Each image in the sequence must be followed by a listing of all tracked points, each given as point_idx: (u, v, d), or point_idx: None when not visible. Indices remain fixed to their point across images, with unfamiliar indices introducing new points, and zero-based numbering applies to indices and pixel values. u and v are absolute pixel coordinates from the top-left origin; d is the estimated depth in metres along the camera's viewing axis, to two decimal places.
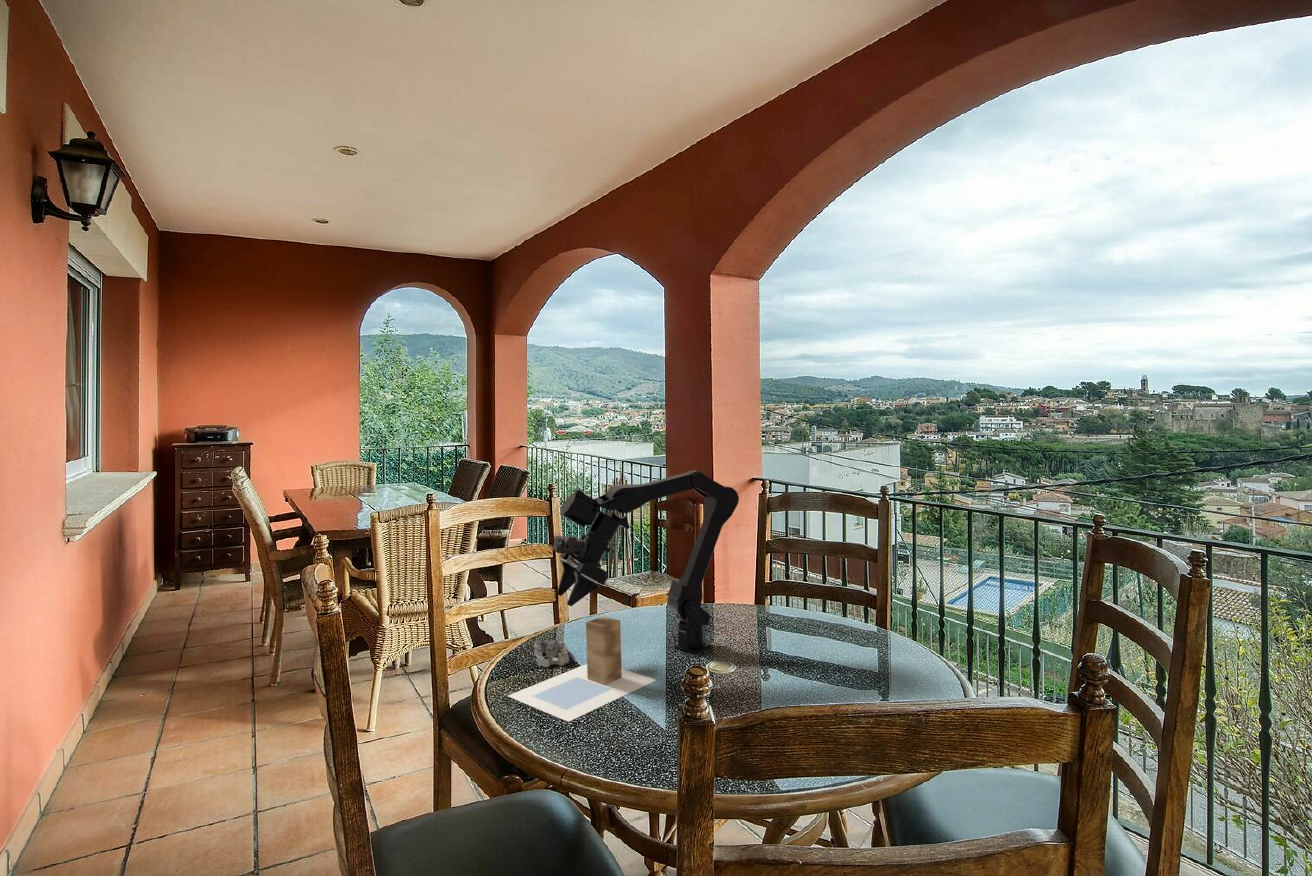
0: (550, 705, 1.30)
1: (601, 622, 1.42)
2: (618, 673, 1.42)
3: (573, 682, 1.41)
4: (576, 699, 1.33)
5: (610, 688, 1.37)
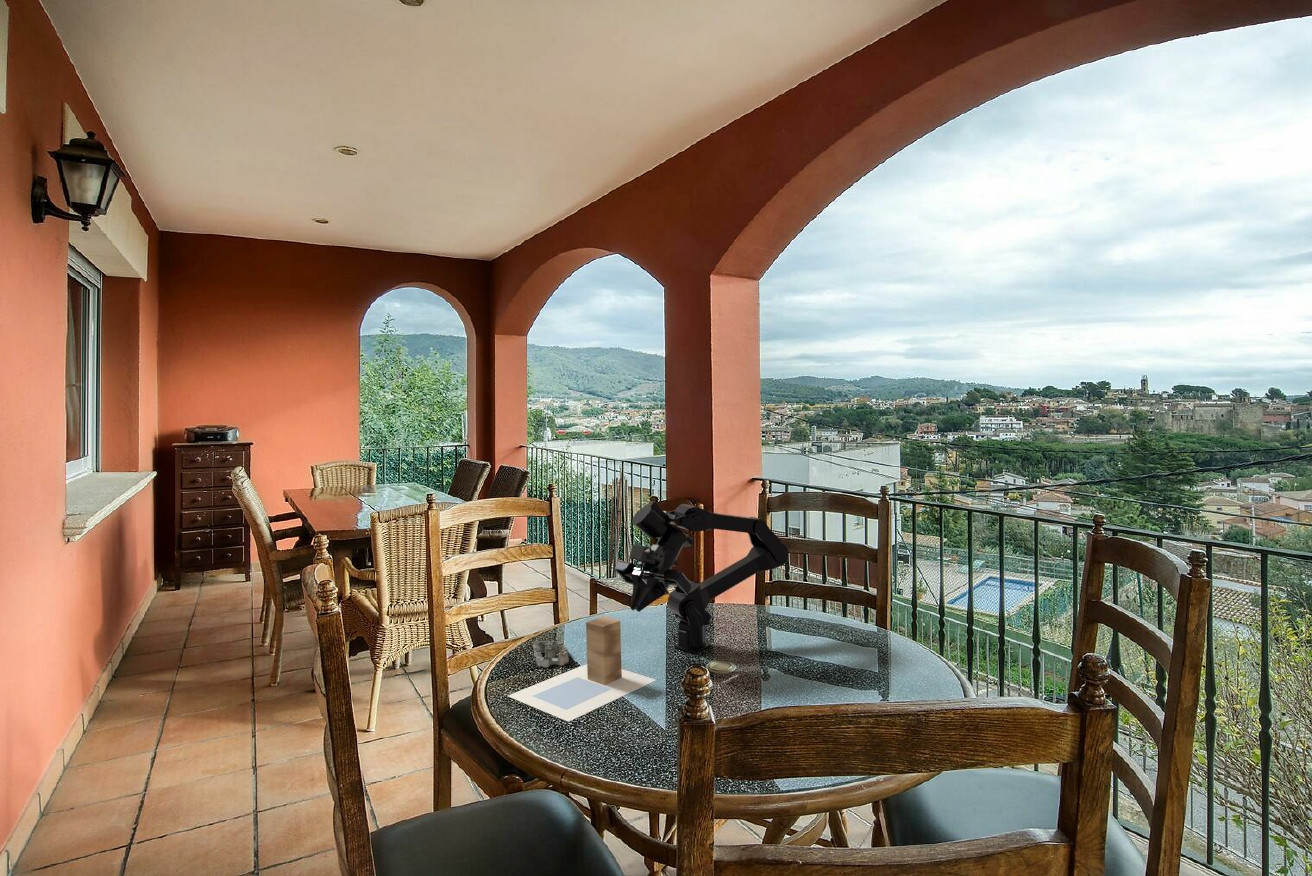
0: (550, 705, 1.30)
1: (601, 622, 1.42)
2: (618, 673, 1.42)
3: (573, 682, 1.41)
4: (576, 699, 1.33)
5: (610, 688, 1.37)
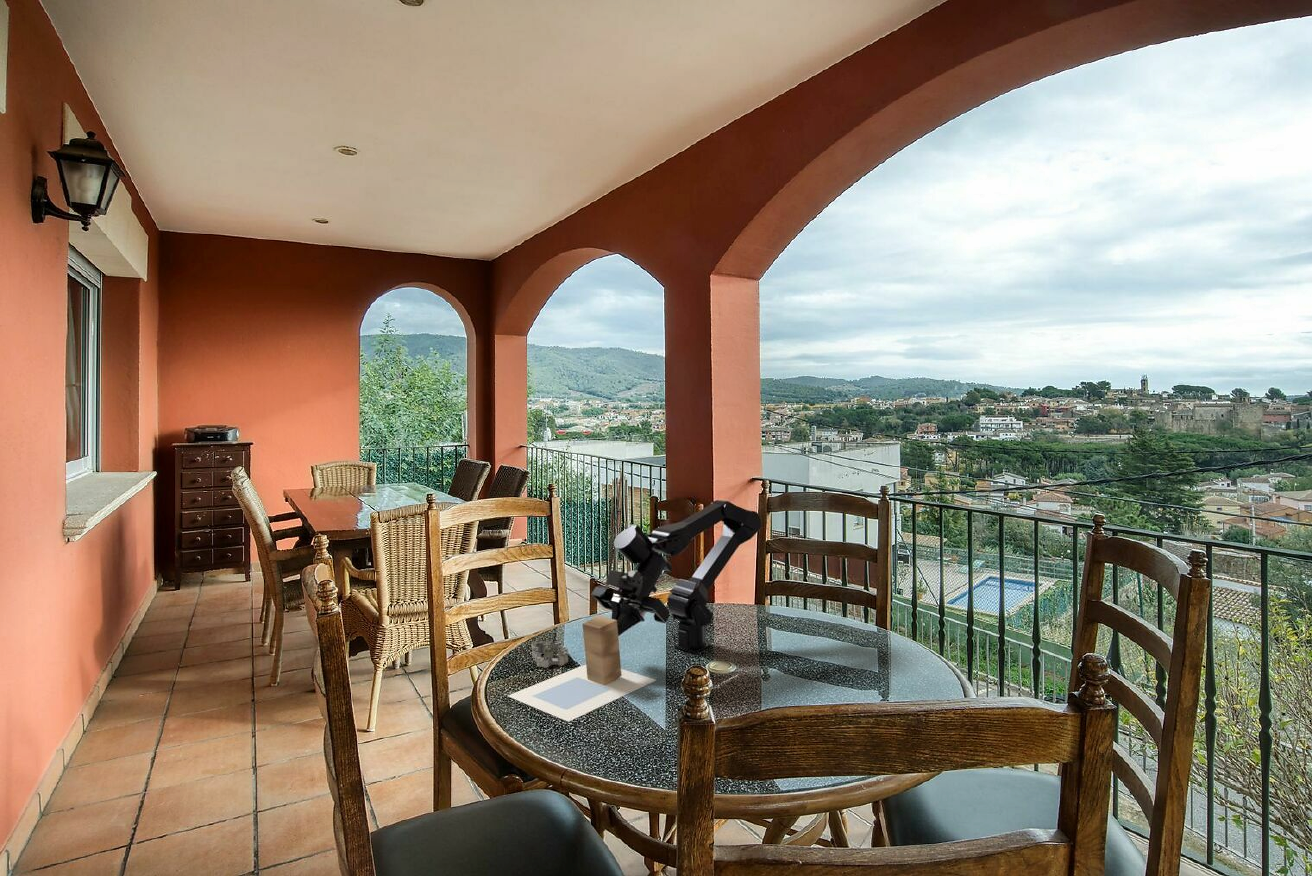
0: (550, 705, 1.30)
1: (597, 622, 1.41)
2: (618, 672, 1.42)
3: (573, 682, 1.41)
4: (576, 699, 1.33)
5: (610, 688, 1.37)
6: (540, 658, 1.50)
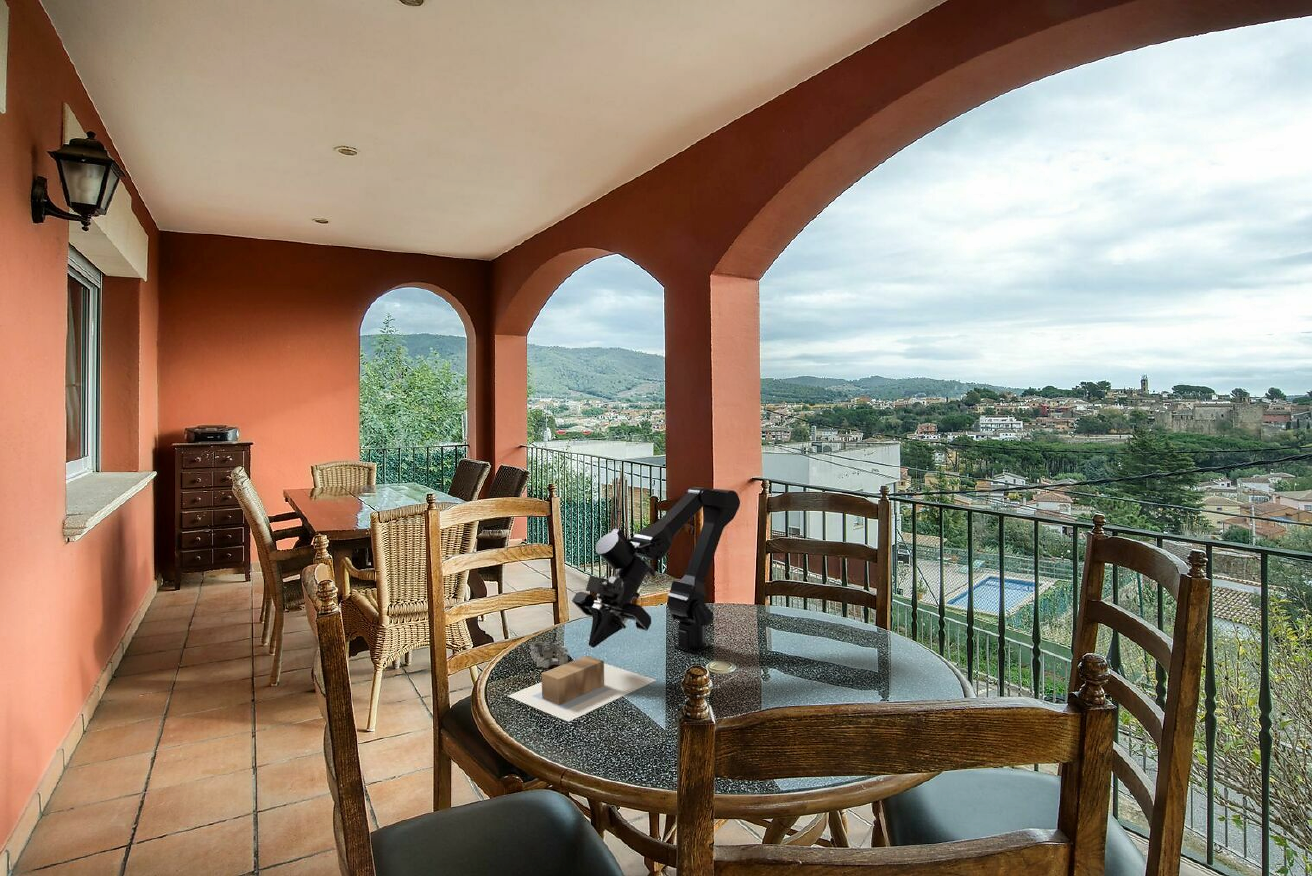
0: (550, 705, 1.30)
1: (550, 692, 1.31)
2: (599, 667, 1.38)
3: None
4: (576, 699, 1.33)
5: (610, 688, 1.37)
6: (540, 658, 1.49)
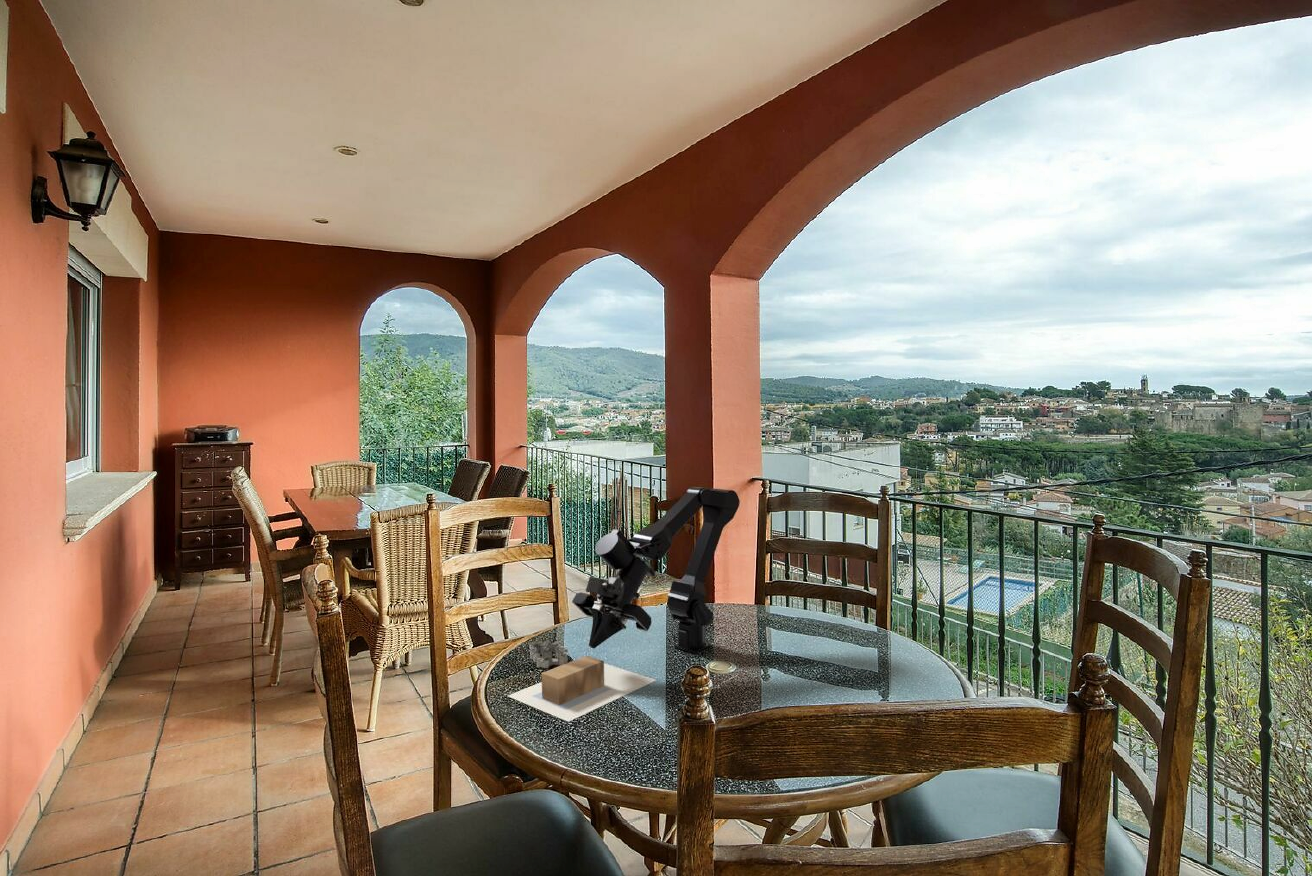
0: (550, 705, 1.30)
1: (550, 692, 1.31)
2: (599, 667, 1.38)
3: None
4: (576, 699, 1.33)
5: (610, 688, 1.37)
6: (540, 659, 1.49)
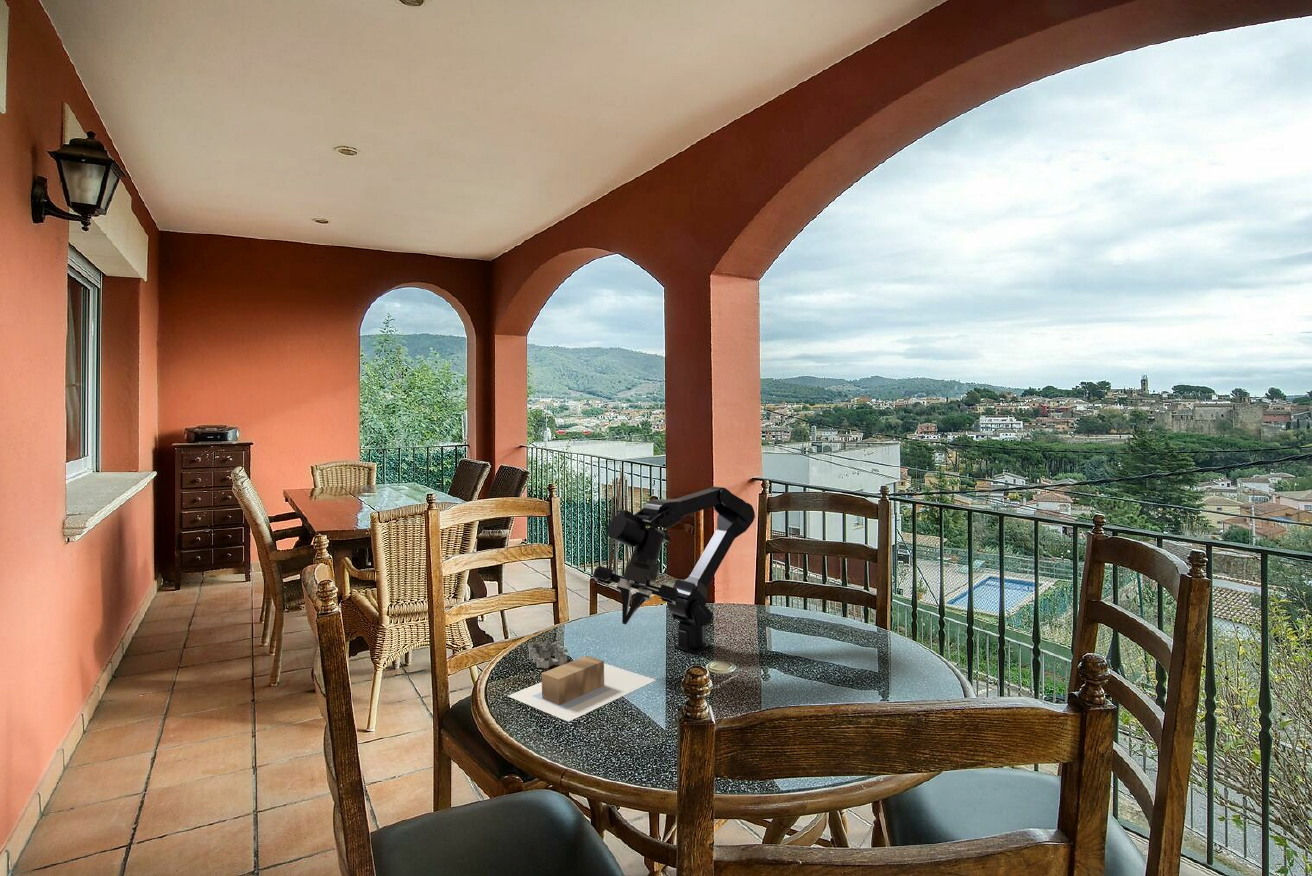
0: (550, 705, 1.30)
1: (550, 692, 1.31)
2: (599, 667, 1.38)
3: None
4: (576, 699, 1.33)
5: (610, 688, 1.37)
6: (540, 659, 1.49)
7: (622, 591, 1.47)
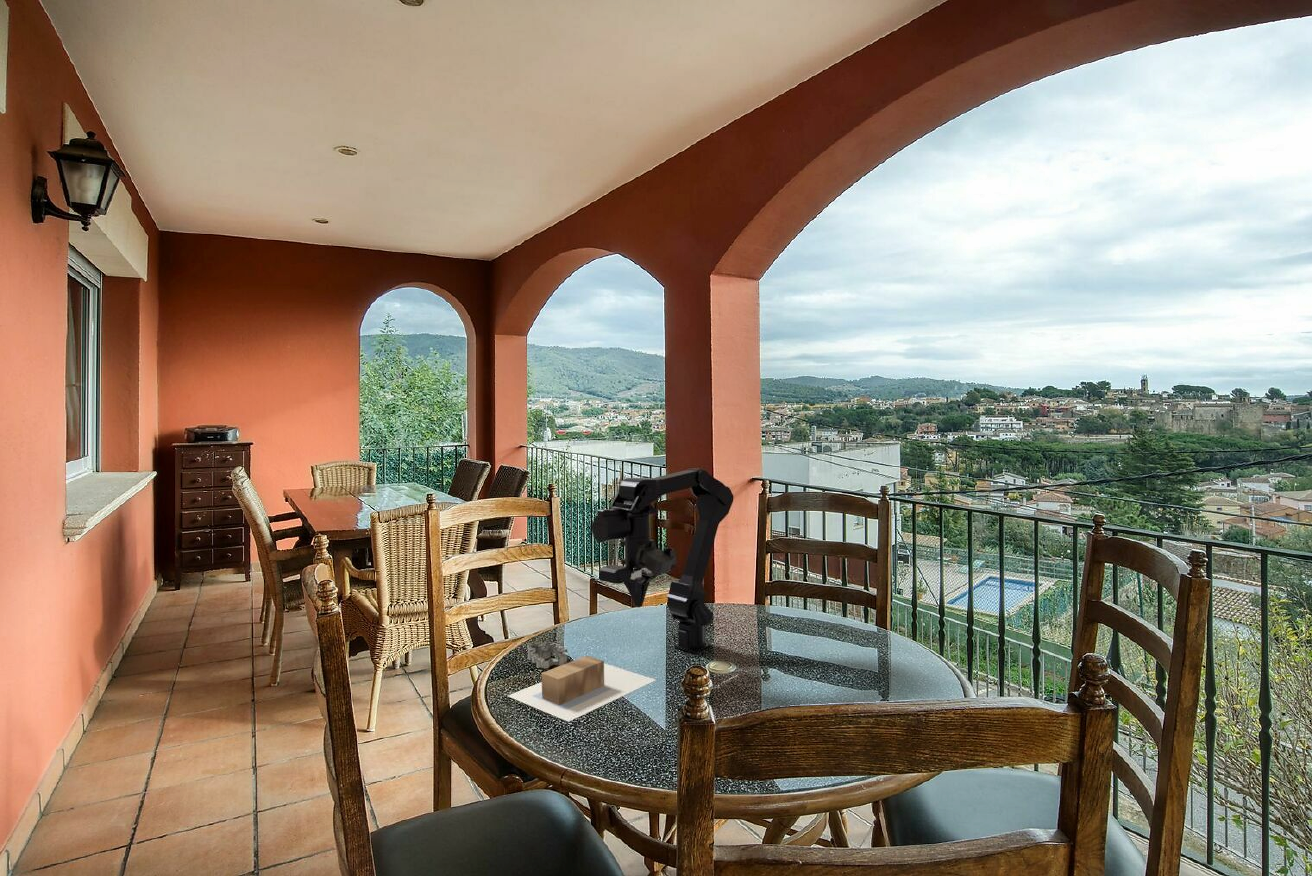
0: (550, 705, 1.30)
1: (550, 692, 1.31)
2: (599, 667, 1.38)
3: None
4: (576, 699, 1.33)
5: (610, 688, 1.37)
6: (540, 659, 1.49)
7: (639, 582, 1.47)
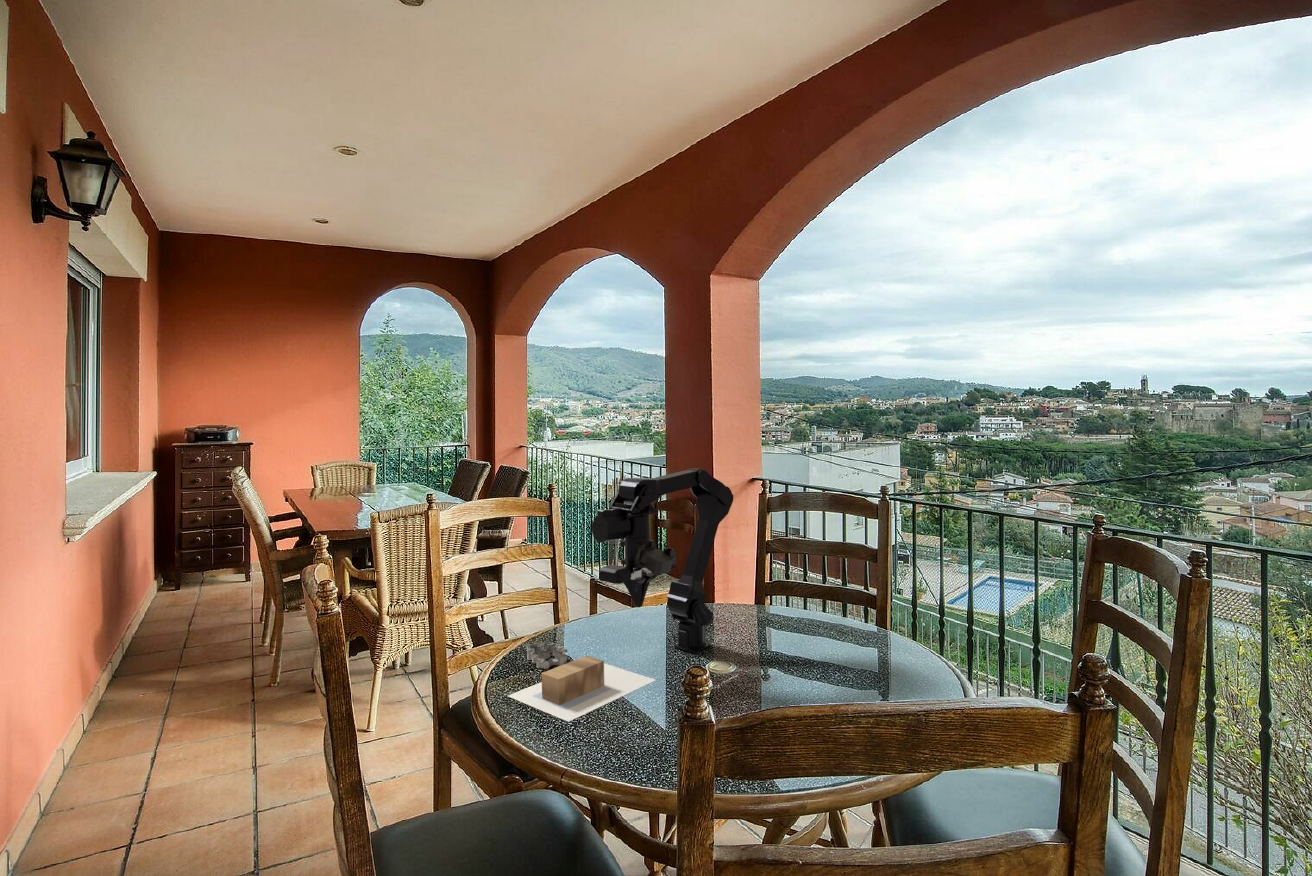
0: (550, 705, 1.30)
1: (550, 692, 1.31)
2: (599, 667, 1.38)
3: None
4: (576, 699, 1.33)
5: (610, 688, 1.37)
6: (540, 659, 1.49)
7: (639, 582, 1.47)
